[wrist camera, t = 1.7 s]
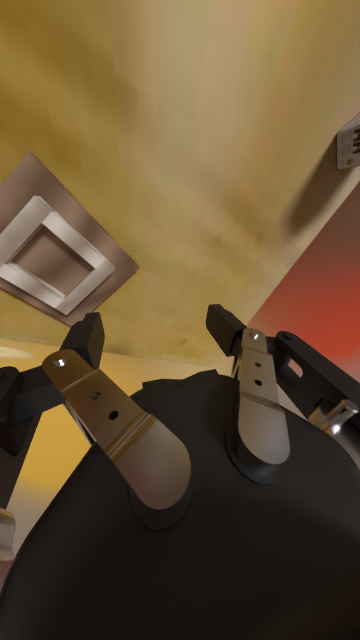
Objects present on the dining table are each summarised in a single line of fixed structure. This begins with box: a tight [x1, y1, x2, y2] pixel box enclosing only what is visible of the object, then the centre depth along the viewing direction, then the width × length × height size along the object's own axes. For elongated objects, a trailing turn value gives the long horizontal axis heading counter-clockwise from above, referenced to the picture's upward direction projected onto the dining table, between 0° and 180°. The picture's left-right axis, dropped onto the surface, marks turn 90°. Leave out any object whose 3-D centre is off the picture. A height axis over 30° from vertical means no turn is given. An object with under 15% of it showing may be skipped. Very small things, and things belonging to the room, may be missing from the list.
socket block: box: [0, 152, 139, 326], centre depth 25 cm, size 18×18×4 cm
